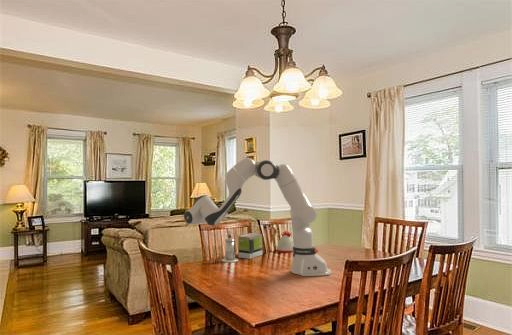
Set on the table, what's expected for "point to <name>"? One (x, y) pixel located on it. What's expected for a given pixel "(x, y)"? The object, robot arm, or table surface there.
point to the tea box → (250, 245)
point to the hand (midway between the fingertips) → (219, 213)
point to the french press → (230, 248)
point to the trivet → (230, 260)
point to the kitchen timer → (285, 243)
